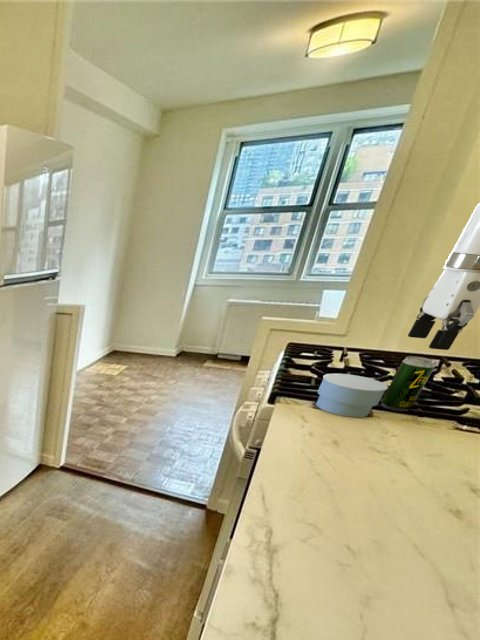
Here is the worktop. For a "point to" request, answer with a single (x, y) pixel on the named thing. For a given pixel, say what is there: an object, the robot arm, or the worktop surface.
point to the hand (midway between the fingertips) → (426, 343)
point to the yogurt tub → (349, 394)
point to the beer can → (408, 383)
